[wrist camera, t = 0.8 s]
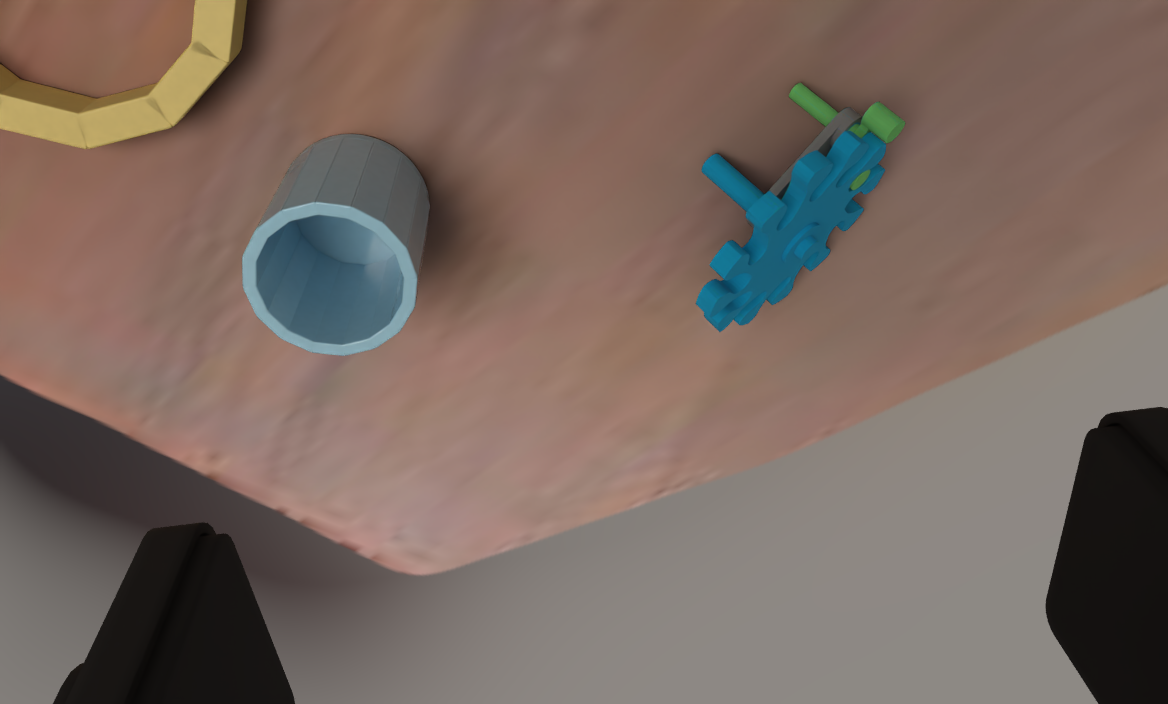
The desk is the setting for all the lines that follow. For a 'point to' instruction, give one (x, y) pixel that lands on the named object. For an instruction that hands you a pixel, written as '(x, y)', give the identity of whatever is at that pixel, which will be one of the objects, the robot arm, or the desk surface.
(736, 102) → the desk surface
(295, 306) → the cup
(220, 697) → the robot arm
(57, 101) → the ring
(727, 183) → the blue branched piece
